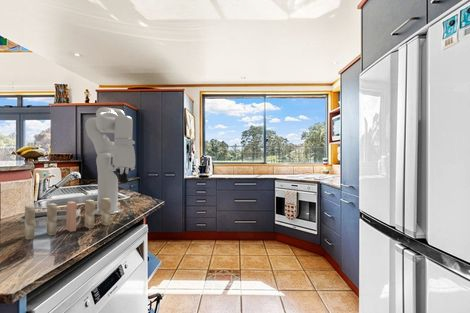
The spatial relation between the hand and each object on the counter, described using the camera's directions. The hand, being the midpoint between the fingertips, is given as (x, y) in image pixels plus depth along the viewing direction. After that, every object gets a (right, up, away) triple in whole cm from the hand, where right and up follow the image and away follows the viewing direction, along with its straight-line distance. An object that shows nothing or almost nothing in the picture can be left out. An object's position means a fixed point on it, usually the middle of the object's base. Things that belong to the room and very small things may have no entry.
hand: (122, 182), depth 113 cm
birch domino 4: (-5, -18, -5) cm, 19 cm away
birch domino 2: (-18, -17, -20) cm, 32 cm away
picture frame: (-37, -18, +7) cm, 42 cm away
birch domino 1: (-22, -17, -25) cm, 37 cm away
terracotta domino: (-14, -17, -15) cm, 27 cm away
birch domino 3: (-9, -17, -10) cm, 22 cm away
